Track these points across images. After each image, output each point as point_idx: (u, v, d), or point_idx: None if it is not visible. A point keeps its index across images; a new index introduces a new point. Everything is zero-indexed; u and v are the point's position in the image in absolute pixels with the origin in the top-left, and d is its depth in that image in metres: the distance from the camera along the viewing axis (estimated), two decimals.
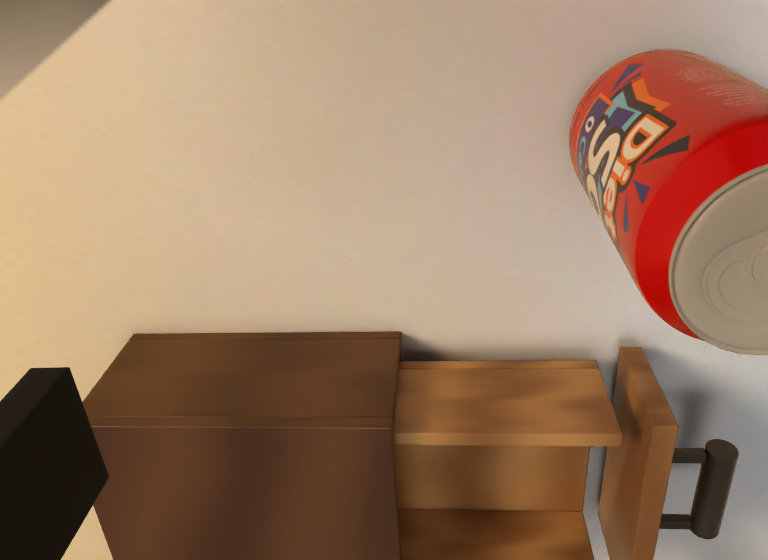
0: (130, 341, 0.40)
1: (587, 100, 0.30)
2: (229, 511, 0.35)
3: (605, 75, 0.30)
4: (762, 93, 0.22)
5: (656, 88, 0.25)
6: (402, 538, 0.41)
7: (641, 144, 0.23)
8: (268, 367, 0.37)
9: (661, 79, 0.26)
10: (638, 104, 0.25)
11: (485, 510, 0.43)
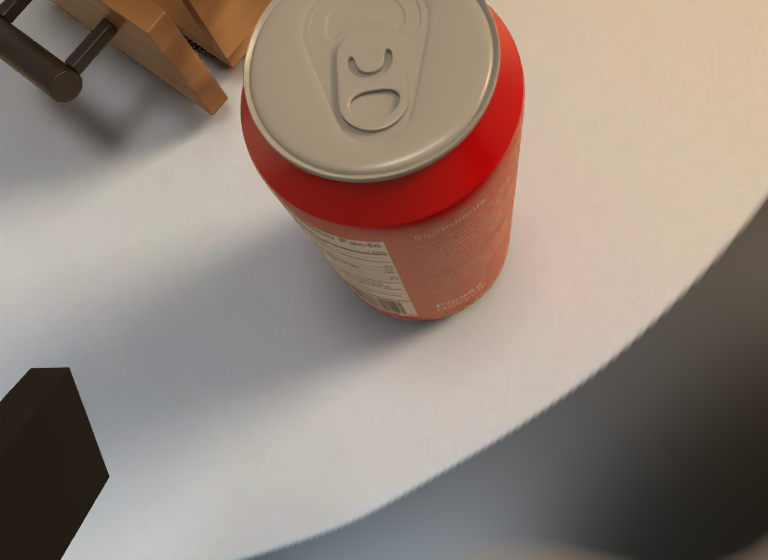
0: None
1: None
2: None
3: None
4: (481, 228, 0.20)
5: None
6: None
7: None
8: None
9: (511, 215, 0.24)
10: None
11: None
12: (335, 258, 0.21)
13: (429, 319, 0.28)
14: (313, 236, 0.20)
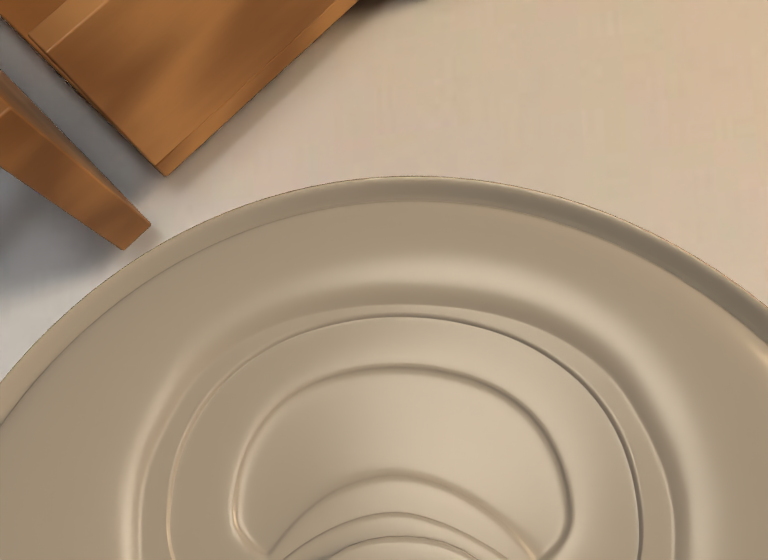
0: None
1: None
2: None
3: None
4: None
5: None
6: None
7: None
8: None
9: None
10: None
11: None
12: None
13: None
14: None
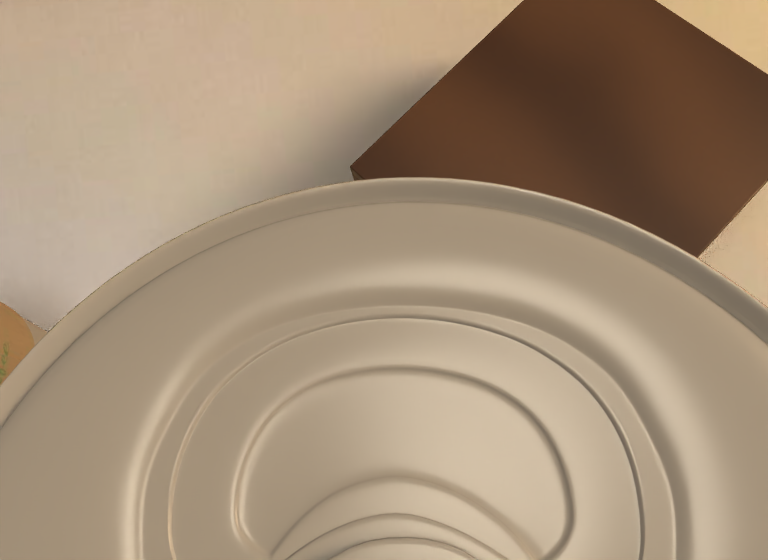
0: None
1: None
2: (617, 150, 0.31)
3: None
4: None
5: None
6: None
7: None
8: None
9: None
10: None
11: None
12: None
13: None
14: None
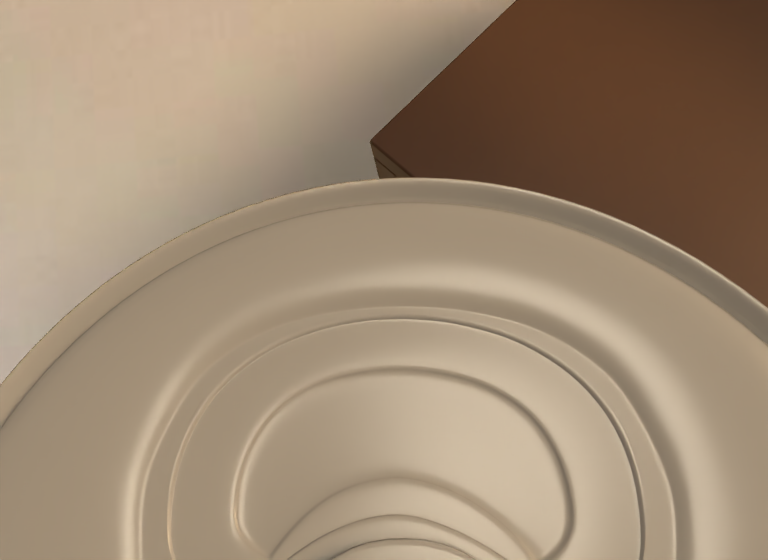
0: None
1: None
2: None
3: None
4: None
5: None
6: None
7: None
8: None
9: None
10: None
11: None
12: None
13: None
14: None
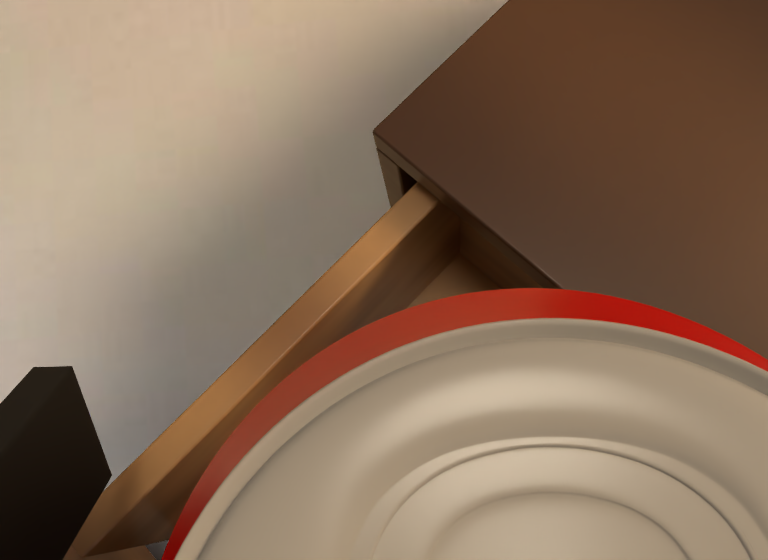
0: None
1: None
2: None
3: None
4: None
5: None
6: (442, 244, 0.19)
7: None
8: None
9: None
10: None
11: None
12: None
13: None
14: None
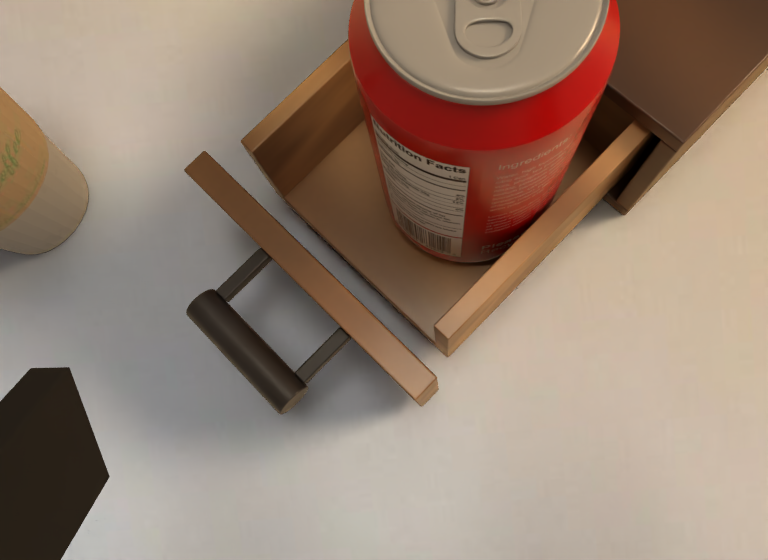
0: None
1: None
2: None
3: None
4: (552, 170, 0.21)
5: None
6: None
7: None
8: (749, 81, 0.30)
9: None
10: None
11: None
12: (407, 184, 0.23)
13: (468, 261, 0.30)
14: (395, 158, 0.21)
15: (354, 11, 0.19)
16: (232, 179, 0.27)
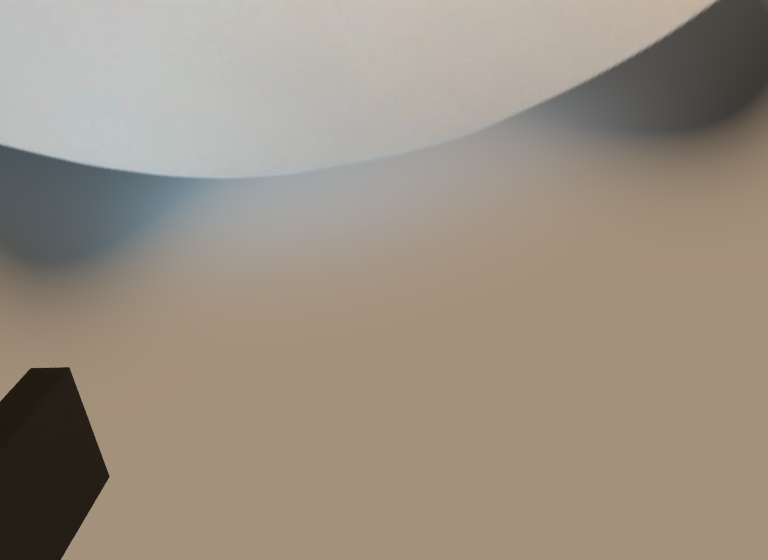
0: None
1: None
2: None
3: None
4: None
5: None
6: None
7: None
8: None
9: None
10: None
11: None
12: None
13: None
14: None
15: None
16: None
